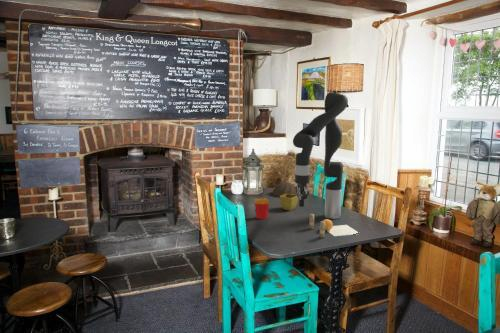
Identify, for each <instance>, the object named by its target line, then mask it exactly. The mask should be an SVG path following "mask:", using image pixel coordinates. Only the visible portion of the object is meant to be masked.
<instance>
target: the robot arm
mask: <svg viewBox="0 0 500 333" xmlns="http://www.w3.org/2000/svg"><path fill="white" fill-rule="evenodd" d="M348 102H349V99H348V96H347V95H346V94H345V95H344V94H343V93H342V94H341V93H338V92H331V91H330V92H328V93H327V94H326V96H325V99H324V113H320V114H319V115H317V116H316V117H314V118H313V119H312V120H311V121H310V122H309V123H308V124H307V126H306V127H304V128H303V129H301V130H300V131H298V132H297V133H296V134H295V135H294V137H293V139H292V144H293V146H294V147H295V148H299V149H301V152H298V153H296V155H295V167H294V183H295V184H297V185H295V186H296V187H295V189H296V193H297V197H298V206H299V207H300V208H303V207H305V200H307V198H308V196H309V192H310V191H308V186H307V184H310V182H311V181H310V178H311V176H310V175H311V167H310V166H311V165H310V164H311V162H310V161H311V155H312V151H313V147H314V139H313V138H315V137H317V136H318V135H319V134H320V133H321V132H322V130H324V128H325V131H324V132H325V133H324V134H325V135H324V146H325V147H324V152H325V153H324V163H323V164H324V165H323V175H324V176H325V177H326V178H336V179H334V180H333V181H330V182H329V181H328V182H327V183H326V184H325V195H324V196H325V200H324V218H326V219H331V220H332V219H333V220H334V219H340V218H341V212H342V210H341V209H342V192H343V191H342V190H343V189H342V188H343V186H342V184H343V182H342V181H343V172H344V164H343V162H341V161H331V160H332V158H333V156H334V155H335V153H336V152H337V151H338V149H339V148H340V147H341V145H342V142H343V141H342V140H343V130H342V128H341V126H340V124H339V122H338V120H337V117H338V116H339V115H340V114H342V113H343V112H344V110H346V109H347V106H348Z"/></svg>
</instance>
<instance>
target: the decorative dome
mask: <svg viewBox="0 0 500 333" xmlns="http://www.w3.org/2000/svg"><path fill="white" fill-rule="evenodd" d="M296 186H297V185H294V183H291V182H289V181H282V182H280V183H278V184H276V185H275V187H274V188H273V190H272V192H271V193H272V195H273V197H277V198H280V196H282V195H284V194H293V195H297V193H296V189H295V187H296Z"/></svg>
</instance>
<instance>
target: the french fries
mask: <svg viewBox="0 0 500 333" xmlns="http://www.w3.org/2000/svg"><path fill="white" fill-rule="evenodd" d="M269 202H270V201H269V198H267V197H264V198H254V206H255V217H256V219H258V220H266V219H268V216H269V207H270V203H269Z"/></svg>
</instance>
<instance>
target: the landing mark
mask: <svg viewBox="0 0 500 333" xmlns="http://www.w3.org/2000/svg"><path fill="white" fill-rule="evenodd" d="M325 232H327V233H329V234H330V235H331V236H333V237H335V238H336V237H343V236H354V235H353V234H356V233H358V231H357V230H355V229H354V228H352V227H351V226H350V225H348V224H340V225H333V227H332V228H331V229H330V230H325ZM356 235H357V234H356Z"/></svg>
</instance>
